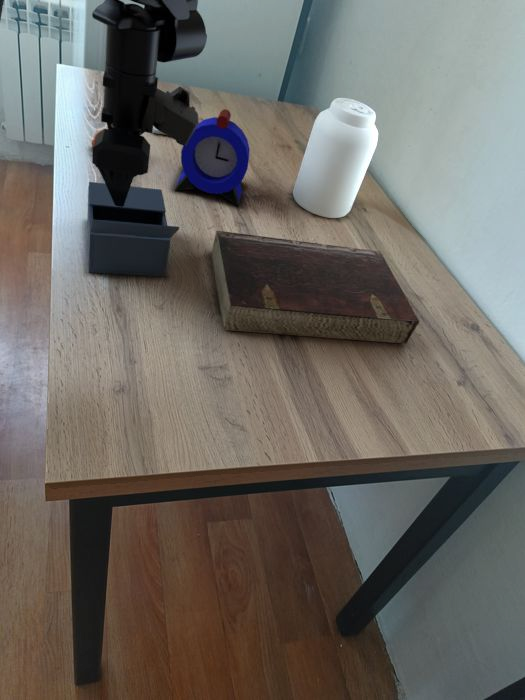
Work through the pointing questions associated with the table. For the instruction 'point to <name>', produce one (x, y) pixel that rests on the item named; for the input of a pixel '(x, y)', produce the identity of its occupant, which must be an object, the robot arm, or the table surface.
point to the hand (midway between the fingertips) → (122, 188)
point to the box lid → (133, 228)
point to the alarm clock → (215, 158)
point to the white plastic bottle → (336, 158)
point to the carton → (123, 249)
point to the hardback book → (308, 290)
